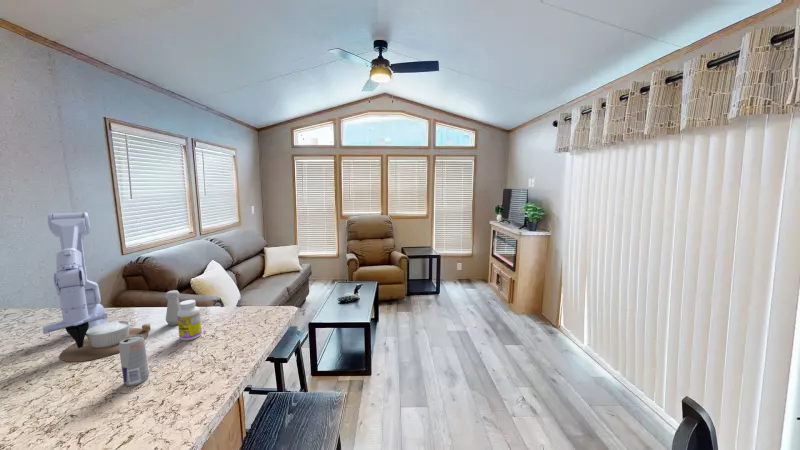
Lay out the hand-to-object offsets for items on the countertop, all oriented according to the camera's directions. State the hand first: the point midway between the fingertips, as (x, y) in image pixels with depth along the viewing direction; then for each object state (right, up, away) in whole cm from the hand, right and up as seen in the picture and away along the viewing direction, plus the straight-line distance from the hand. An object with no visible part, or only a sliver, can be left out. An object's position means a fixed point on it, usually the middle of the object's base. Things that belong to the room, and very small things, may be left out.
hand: (80, 346), depth 103 cm
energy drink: (+31, -4, -15) cm, 35 cm away
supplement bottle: (+30, 0, +10) cm, 31 cm away
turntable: (+4, -1, +5) cm, 7 cm away
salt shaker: (+17, +1, +20) cm, 26 cm away
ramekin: (+5, -1, +6) cm, 7 cm away
